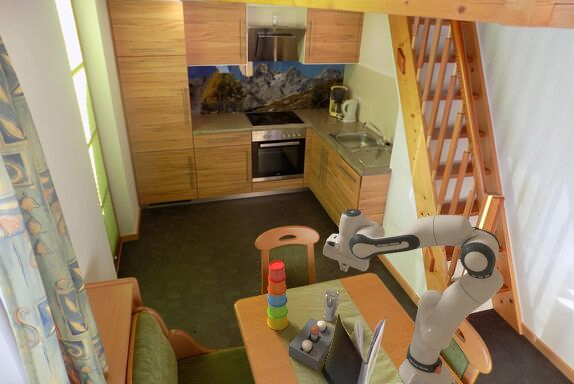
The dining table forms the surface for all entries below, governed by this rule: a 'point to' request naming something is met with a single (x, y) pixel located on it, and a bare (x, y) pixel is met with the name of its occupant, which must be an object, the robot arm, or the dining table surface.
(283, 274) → the stacking cups
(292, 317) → the dining table surface
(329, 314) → the beer glass
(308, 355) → the console
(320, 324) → the knob
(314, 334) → the knob mid
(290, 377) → the dining table surface
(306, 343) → the knob
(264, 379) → the dining table surface
